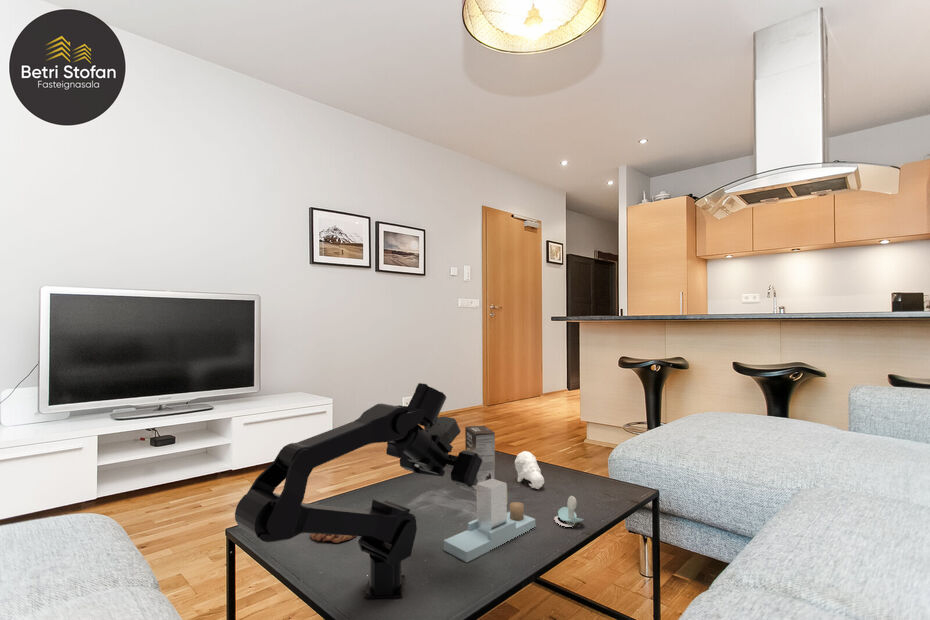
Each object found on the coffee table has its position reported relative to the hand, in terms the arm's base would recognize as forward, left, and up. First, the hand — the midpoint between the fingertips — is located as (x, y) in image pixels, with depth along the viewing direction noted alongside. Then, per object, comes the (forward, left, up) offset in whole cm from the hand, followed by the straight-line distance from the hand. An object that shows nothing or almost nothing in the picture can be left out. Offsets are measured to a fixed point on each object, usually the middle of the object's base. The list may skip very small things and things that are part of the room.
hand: (459, 478), depth 100 cm
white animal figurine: (+36, -22, -14) cm, 44 cm away
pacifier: (+9, -26, -14) cm, 31 cm away
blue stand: (+3, -7, -14) cm, 16 cm away
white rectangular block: (+3, -7, -12) cm, 14 cm away
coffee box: (+37, -7, -14) cm, 40 cm away
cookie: (+7, +28, -15) cm, 32 cm away
